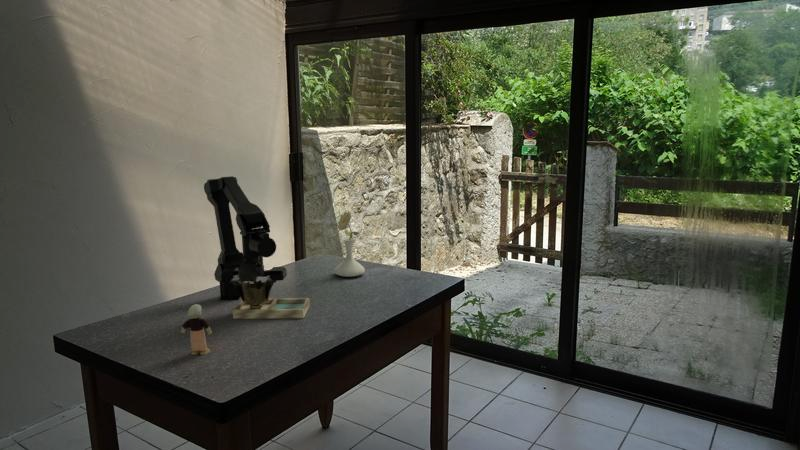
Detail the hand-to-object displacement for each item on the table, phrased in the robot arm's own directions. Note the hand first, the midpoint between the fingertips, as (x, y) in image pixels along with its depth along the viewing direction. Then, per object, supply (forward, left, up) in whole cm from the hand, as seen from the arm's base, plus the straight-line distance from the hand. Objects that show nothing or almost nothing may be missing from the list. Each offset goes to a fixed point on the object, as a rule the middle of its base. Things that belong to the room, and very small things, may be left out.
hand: (255, 301), depth 171 cm
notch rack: (+5, 0, -4) cm, 6 cm away
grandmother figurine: (-7, -30, -4) cm, 31 cm away
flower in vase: (+25, +40, -4) cm, 47 cm away
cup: (0, 0, -3) cm, 3 cm away
